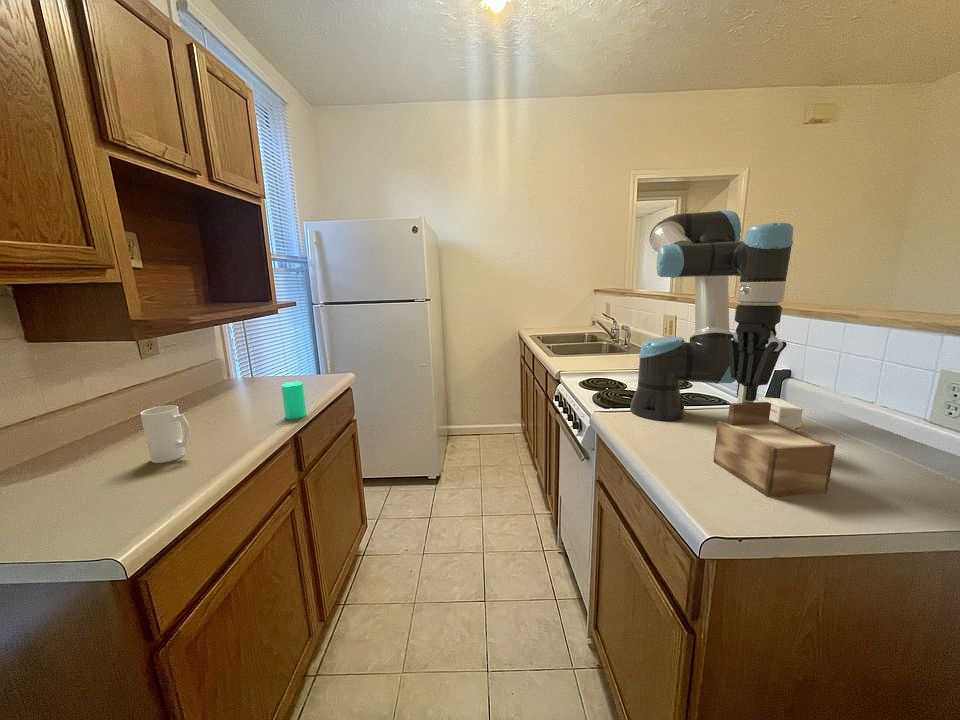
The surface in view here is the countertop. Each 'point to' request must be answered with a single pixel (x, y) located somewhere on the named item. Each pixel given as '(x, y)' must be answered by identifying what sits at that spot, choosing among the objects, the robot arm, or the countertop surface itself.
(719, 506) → the countertop surface
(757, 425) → the lid
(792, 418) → the ink box
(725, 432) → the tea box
